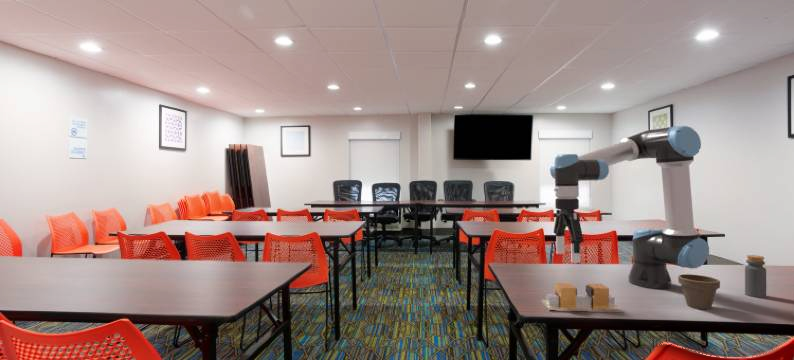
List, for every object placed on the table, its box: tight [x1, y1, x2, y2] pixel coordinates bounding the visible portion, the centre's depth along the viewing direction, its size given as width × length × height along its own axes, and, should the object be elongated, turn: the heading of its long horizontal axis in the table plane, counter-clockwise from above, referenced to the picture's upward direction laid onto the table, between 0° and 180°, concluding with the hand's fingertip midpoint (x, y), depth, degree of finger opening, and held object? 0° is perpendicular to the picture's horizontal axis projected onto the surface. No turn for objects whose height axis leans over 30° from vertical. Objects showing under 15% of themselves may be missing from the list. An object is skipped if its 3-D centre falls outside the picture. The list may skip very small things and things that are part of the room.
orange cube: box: [554, 282, 578, 307], centre depth 130 cm, size 6×6×6 cm
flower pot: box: [677, 273, 721, 310], centre depth 130 cm, size 12×11×10 cm
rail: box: [540, 283, 623, 313], centre depth 130 cm, size 24×9×8 cm, turn 86°
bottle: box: [744, 254, 767, 299], centre depth 141 cm, size 6×6×15 cm
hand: (567, 257), depth 131 cm, fingers open, 13 cm apart
